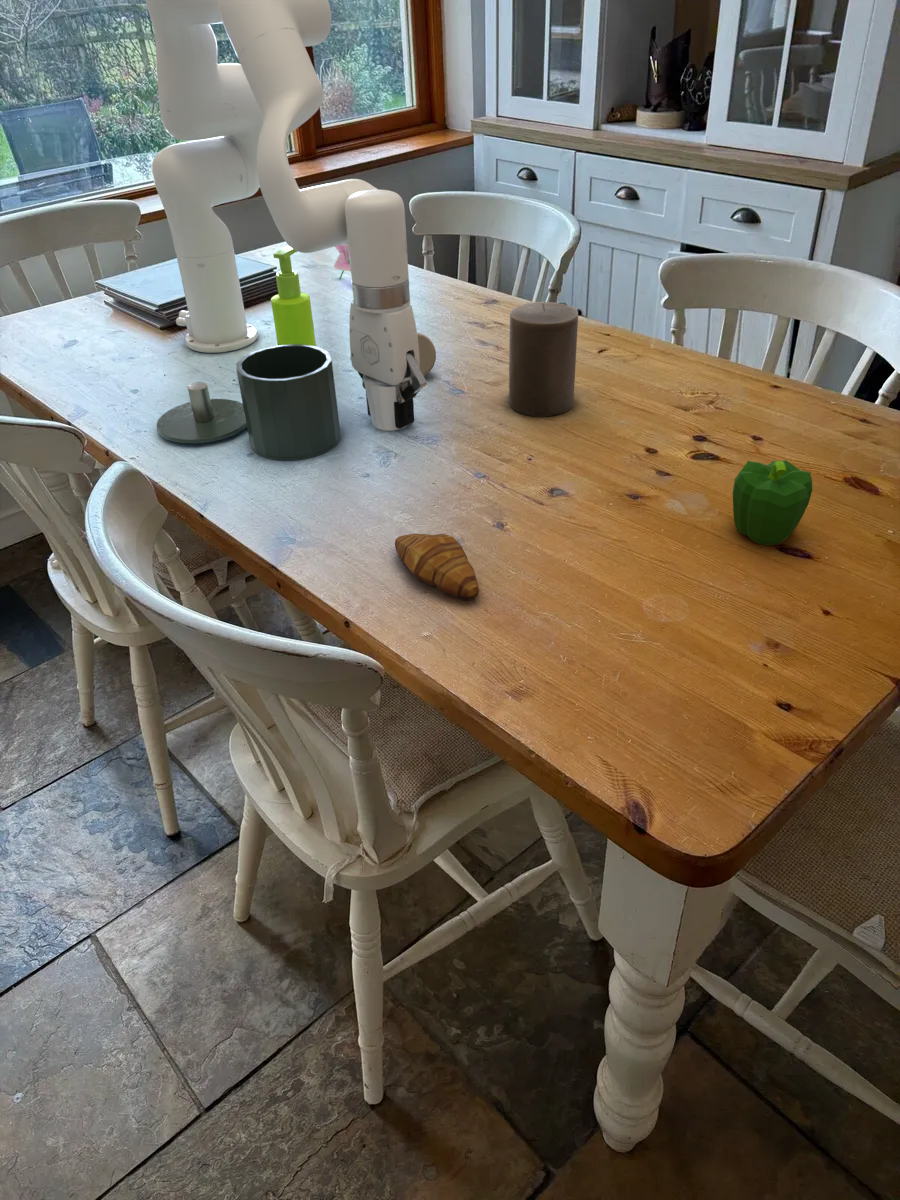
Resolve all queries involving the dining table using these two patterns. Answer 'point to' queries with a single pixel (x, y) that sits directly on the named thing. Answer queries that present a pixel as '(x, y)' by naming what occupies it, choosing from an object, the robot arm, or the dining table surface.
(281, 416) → the canister
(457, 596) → the croissant
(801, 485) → the bell pepper
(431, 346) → the mug
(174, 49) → the robot arm
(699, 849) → the dining table surface
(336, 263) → the lily
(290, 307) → the soap dispenser
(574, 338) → the pillar candle
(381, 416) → the white cup
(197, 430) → the lid
